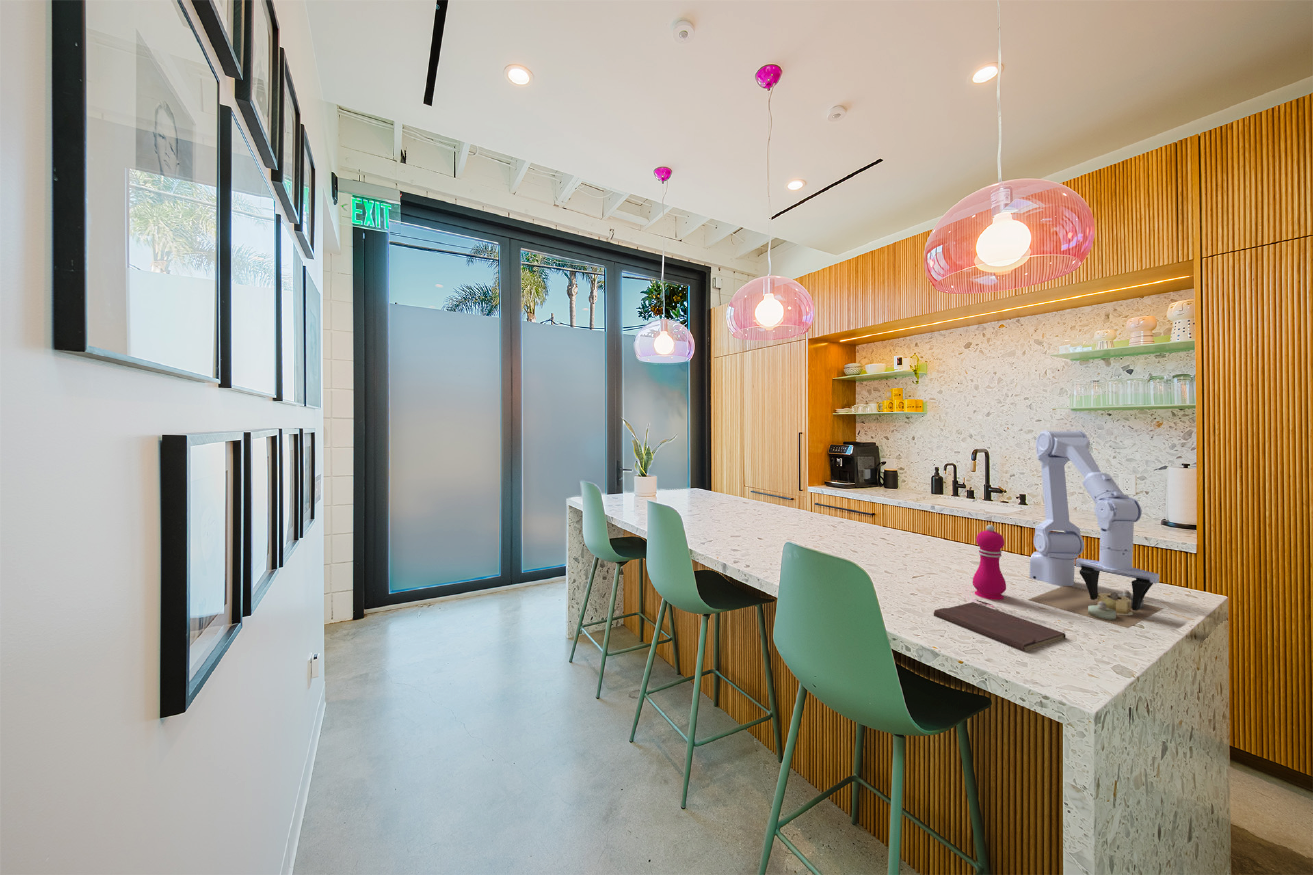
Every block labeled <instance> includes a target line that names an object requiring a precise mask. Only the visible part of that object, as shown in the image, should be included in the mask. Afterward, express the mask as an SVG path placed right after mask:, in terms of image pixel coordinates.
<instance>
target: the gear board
mask: <svg viewBox="0 0 1313 875" xmlns="http://www.w3.org/2000/svg"><path fill="white" fill-rule="evenodd" d="M1100 593H1101V592H1098V594H1100ZM1110 594H1111V597H1110V598H1113V599H1119V595H1120V596H1124V597H1126V598H1128V599H1130V600H1131V613H1129V614H1116V611H1115V610H1113V609H1110V608H1107V607H1106V603H1105V602H1103V601H1100V602H1099V603H1098V597H1097V599H1095V600H1092V599H1090V594H1089V591H1088V589H1085V588H1081V587H1077V586H1074V585H1073V586H1059V587H1057V588H1055V589H1053V590H1050V591H1046V592H1043V593H1042V594H1039V595H1036V596H1034V597H1031V598H1028V599H1027V601H1029V602H1033V603H1034V602H1035V603H1037V604H1041V605H1045V606H1048V607H1051V608H1055V609H1057V610H1058V609H1059V610H1061V611H1065V612H1068V613H1072V614H1077V615H1079V616H1083V617H1086V618H1090V619H1094V620H1098V621H1101V622H1104V623H1109V624H1112V625H1115V626H1119V627H1123V628H1127V629H1129V628H1131V627H1132V626H1134V625H1136V624H1137V623H1140V622H1141V621H1144V620H1145V619H1147V618H1149V617H1151V616H1152V615H1154V614H1156V613H1158V612H1160V611H1161V610H1163V609H1164V607H1159V606H1156V605H1152V604H1151V605H1150V604H1148V603H1147V604H1146V603H1145V602H1144V599H1143V600H1142V602H1141V605H1140V609H1139V610H1137V611H1135V610H1132V602H1133V595H1131V594H1132V593H1131V592H1130V591H1129V590H1128V589H1127V590H1126V589H1124V590H1123V591H1122V593H1117V592H1111V593H1110ZM1097 605H1098V606H1097Z"/></svg>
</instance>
